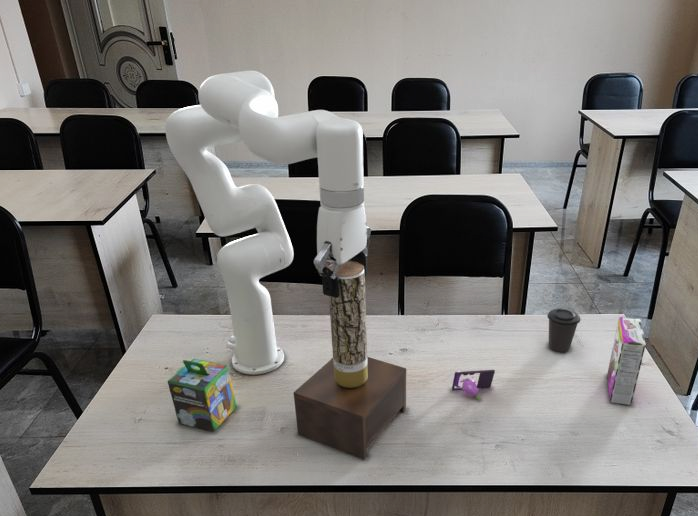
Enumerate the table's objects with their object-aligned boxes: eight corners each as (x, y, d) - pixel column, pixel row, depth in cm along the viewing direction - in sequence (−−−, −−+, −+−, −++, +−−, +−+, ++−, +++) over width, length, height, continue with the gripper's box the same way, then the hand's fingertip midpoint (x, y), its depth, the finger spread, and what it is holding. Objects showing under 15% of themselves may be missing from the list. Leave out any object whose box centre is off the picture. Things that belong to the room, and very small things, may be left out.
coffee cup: (550, 335, 160) (555, 302, 154) (580, 345, 156) (586, 311, 150) (537, 349, 154) (542, 314, 149) (567, 359, 150) (573, 324, 145)
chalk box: (237, 407, 133) (228, 351, 125) (213, 433, 126) (201, 375, 118) (202, 399, 136) (190, 343, 128) (176, 424, 128) (162, 366, 121)
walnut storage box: (298, 434, 125) (293, 392, 120) (344, 389, 139) (342, 349, 133) (364, 460, 119) (362, 416, 113) (406, 409, 133) (406, 368, 127)
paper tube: (363, 391, 120) (358, 278, 107) (330, 387, 121) (322, 274, 108) (371, 372, 126) (368, 262, 113) (340, 368, 127) (333, 259, 114)
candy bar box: (605, 375, 144) (618, 315, 136) (627, 378, 143) (641, 318, 135) (608, 403, 135) (622, 341, 126) (631, 406, 134) (647, 344, 125)
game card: (494, 366, 135) (454, 369, 134) (498, 386, 132) (458, 388, 131) (489, 384, 140) (451, 386, 140) (493, 402, 137) (454, 405, 136)
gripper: (350, 178, 111) (353, 263, 120) (293, 207, 98) (301, 299, 107) (385, 185, 108) (385, 271, 117) (332, 215, 95) (337, 309, 104)
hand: (345, 284), depth 112 cm, fingers open, 9 cm apart
